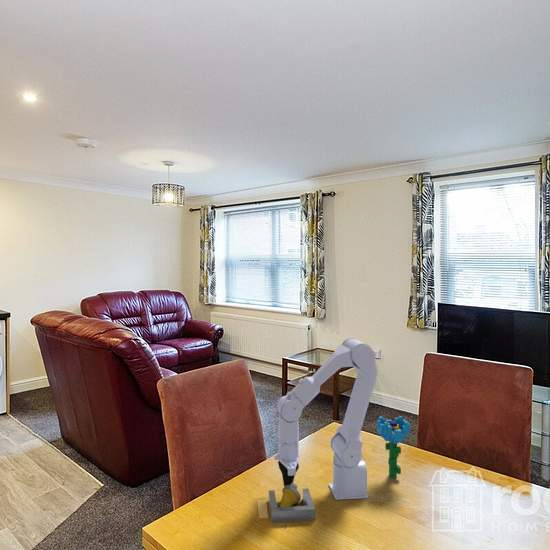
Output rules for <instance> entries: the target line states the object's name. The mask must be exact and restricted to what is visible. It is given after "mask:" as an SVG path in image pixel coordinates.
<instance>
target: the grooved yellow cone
mask: <svg viewBox="0 0 550 550" xmlns="http://www.w3.org/2000/svg"><path fill="white" fill-rule="evenodd" d="M281 491H282V495H281V496H282V497H281V500H280V504H279V507H293V505H297V504H299V503H300V501H301V498H302V497H301V494H300V492H299V490H298V485H297V484H295V483H294V482H293V483H291V484H290V485H286V486H285V487H284V486H283V488H282V490H281Z"/></svg>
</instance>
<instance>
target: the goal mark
mask: <svg viewBox="0 0 550 550" xmlns="http://www.w3.org/2000/svg"><path fill="white" fill-rule="evenodd" d="M257 510H258V519H268V518H269V514H268V513H269V512H268V506H267V499H257Z"/></svg>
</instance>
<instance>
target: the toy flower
mask: <svg viewBox="0 0 550 550" xmlns="http://www.w3.org/2000/svg"><path fill="white" fill-rule="evenodd" d="M376 423H377V424H376V426H377V428H376V430H377V433H378V435H379V436H381V438H382V439H383V440H384V441H385V442H386V443H385V445H384V446H385V450H386V451H388V461H387V462H388V476H389V478H390V479H397V478H398V477H397V476H398V475H401V474H402V473H401V470H402V469H401V466H400V465H398V457H400V454H401V455H402V448H401V446H398V444H400V443H401V442H403V441H404V439H405V438H407V436H408V435H409V434H410V433H411V424H410V423H409V421H407V420H406V419H403V416H401V415H399V416H398V417H394V420H392V419H385V418H384V416H379V417H378V420H377V422H376Z"/></svg>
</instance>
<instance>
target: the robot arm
mask: <svg viewBox="0 0 550 550" xmlns="http://www.w3.org/2000/svg"><path fill="white" fill-rule="evenodd" d="M376 355H377V354H376V352H375V351H374V350H373V348H372V347H371V346H370V345H369V344H367V343H366V342H365V343H364V342H362V341H360V340H358V339H356V338H354V337H349V338H346V339H344V340H343V342H342V343H341V344H340V345H337V347H336V348H335V350H334V352H333V353H332V354H331V355H329V357H328V358H327V360H326V361H324V362H323V364H322V365H321V366H320V367H319V368H318V370H316V371H315V372H314V373H313V375H312V376H305V377H304V378H302V377H301V378H300V379H298V381H297V382H298V384H296V386H294V387H293V388H292V389H291V390H290V391H288V392H287V393H286V395H283V396H281V397H280V398H279V399H278V400H277V403H276V405H275V406H276V407H275V408H276V411H277V412H278V413H279V414H278V428H277V429H278V431H277V433H278V435H277V436H278V441H277V445H278V446H277V447H278V449H277V451H278V453H277V454H276V453H274V454H273V458H274V460H275V461H277V463H278V465H277V466H278V468H279V470H280V472H281V475H282V483H283V488H284V487H285V486H286V485H290V484H291V483H294V481H295V480H294V479H295V476H296V475H297V471H298V470H299V467H300V465H299V461H300V454H299V452H300V451H299V447H300V445H299V437H300V435H299V434H300V432H299V431H300V428H299V426H300V425H299V419H300V418H301V416H302V414H303V409H304V408H305V407H307V406H308V404H309V403H310V402H312V401H313V399H315V397H316V396H317V395H318V394H319V393H320V392H321V391H320V390H321V386H322V385H323V384H324V383H325V382H327V380H328V379H330V378H331V377H332V376H333V375H334V374H335V373H336V372H337V371H339V370H340V369H341V368H348V367H349V368H350V367H351V368H352V367H353V368H354V370H355V371H356V373H357V374H356V377H355V381H354V384H353V388H352V390H351V394H350V398H349V401H348V405H347V409H346V411H345V415H344V418H343V422H342V424H341V425H340V426H338V427H337V430H336V432H335V434H333V436H332V437H331V439H330V448H331V450H332V451H333V459H332V460H333V461H332V482H329V483H328V486H329V488H330V491H331V493H332V496H333V497H334V500H336V501H339V500H340V501H341V500H343V501H344V500H356V499H358V500H359V499H368V498H369V496H368V495H369V494H368V469H367V465H366V462H365V461H364V459H362V458H363V452H362V448H363V439H362V433H361V431H362V428H363V425H364V421H365V417H366V414H367V411H368V408H369V404H370V400H371V397H372V393H373V390H374V387H375V383H376V379H377V376H378V369H377V368H378V367H377V363H376Z"/></svg>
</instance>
